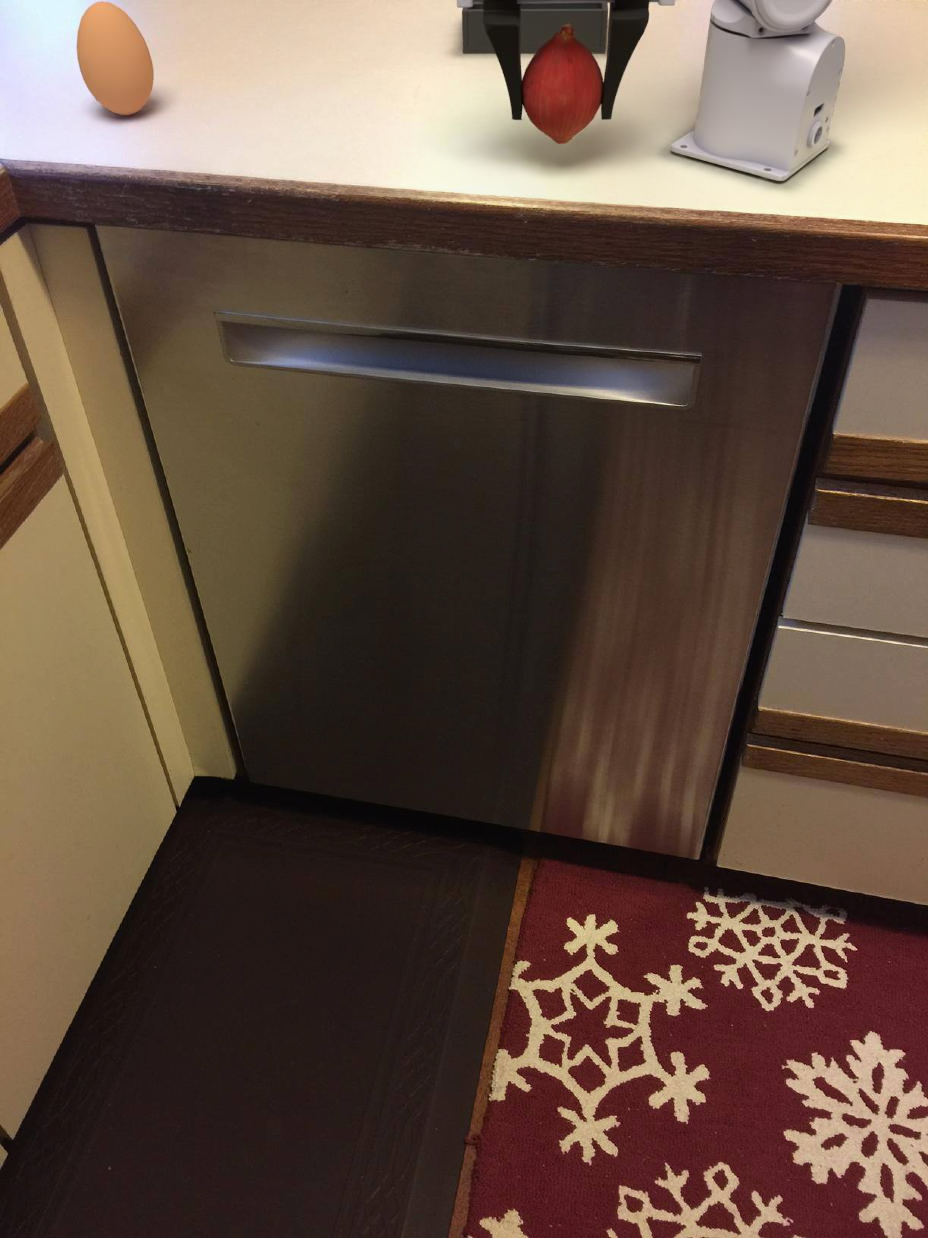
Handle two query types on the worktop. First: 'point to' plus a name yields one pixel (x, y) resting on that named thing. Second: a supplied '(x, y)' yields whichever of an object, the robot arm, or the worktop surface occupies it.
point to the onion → (562, 86)
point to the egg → (114, 59)
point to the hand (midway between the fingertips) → (560, 114)
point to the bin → (541, 26)
